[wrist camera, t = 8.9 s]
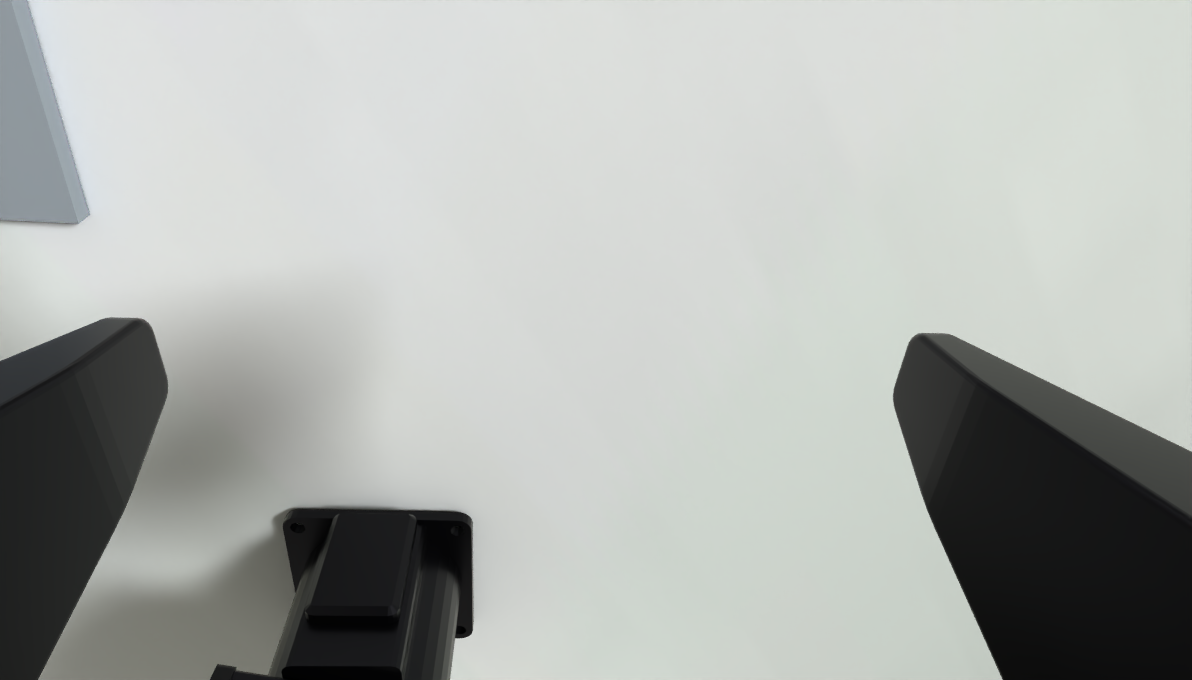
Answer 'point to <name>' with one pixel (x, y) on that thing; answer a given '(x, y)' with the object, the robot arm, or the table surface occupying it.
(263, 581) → the table surface
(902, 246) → the table surface
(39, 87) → the plate
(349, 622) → the robot arm
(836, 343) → the table surface
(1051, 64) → the table surface
